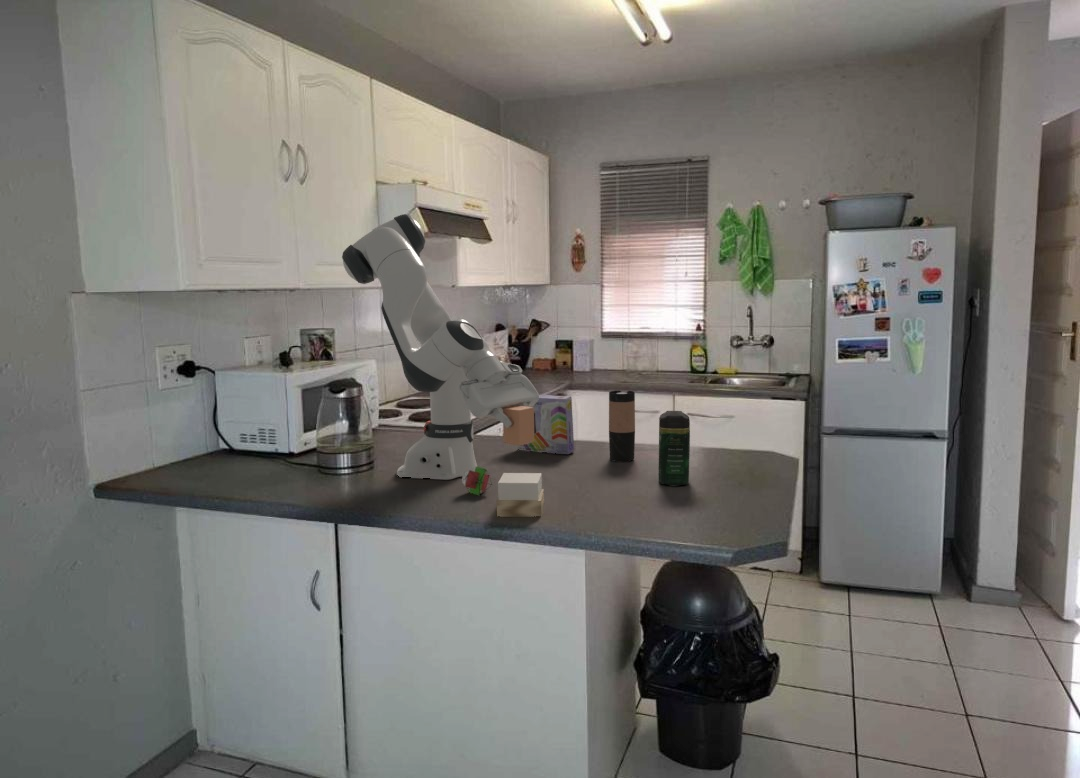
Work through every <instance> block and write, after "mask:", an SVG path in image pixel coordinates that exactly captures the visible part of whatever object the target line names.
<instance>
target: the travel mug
mask: <svg viewBox="0 0 1080 778" xmlns="http://www.w3.org/2000/svg"><path fill="white" fill-rule="evenodd" d="M608 393H609V394H608V442H609V443H608V445H609V446H608V448H609V459H611V461H612V460H615V461H614V462H617V461H628V462H630V461H629V460H632V461H634V460H633V459H635V448H636V447H635V446H636V445H635V443H636V442H635V440H636V438H635V437H636V408H635V407H636V404H635V403H636V401H635V400H636V394H635V391H633V390H628V391H626V392H624V391H622V390H610V391H609V392H608Z"/></svg>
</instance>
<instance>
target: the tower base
mask: <svg viewBox="0 0 1080 778" xmlns="http://www.w3.org/2000/svg"><path fill="white" fill-rule="evenodd" d="M544 491H545V488H542V491H541V494H540V497H539V500H538V501H536V500H498V498H497V499H496V517H498V516H500V517H503V518H504V517H510V518H511V517H516V518H517V517H521V518H522V517H524V518H525V517H527V518H528V517H531V518H533V517H534V516H535V517H536V516H541V517H542V516H543V512H544V505H545V492H544Z"/></svg>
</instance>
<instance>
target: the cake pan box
mask: <svg viewBox="0 0 1080 778" xmlns="http://www.w3.org/2000/svg"><path fill="white" fill-rule="evenodd" d="M572 400H573V399H572V396H570V395H569V396H567V395H565V396H564V395H553V394H552V395H551V394H539V400H538V401H537V402H536V404H535V405H534V406H533V407H534V442H532V443H528V444H524V445H520V446H519V445H516V448H517V450H518V449H520V450H529V451H528V452H530V451H536V452H535V453H542V452H547V453H546V454H555V453H556V454H558V455H569V454H574V453H575V439H574V437H575V436H574V421H573V419H574V418H573V402H572Z"/></svg>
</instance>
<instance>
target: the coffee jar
mask: <svg viewBox="0 0 1080 778" xmlns="http://www.w3.org/2000/svg"><path fill="white" fill-rule="evenodd" d="M690 422H691V421H690V417H689V415H688V414H686V413H684V412H683V411H682V410H666V411H665V412H663V413H661V414H660V416H659V417H658V482H659V483H660V484H661V485H669V486H671V487H678V486H682V485H688V484H689V480H690V456H691V455H690V454H691V453H690V452H691V451H690V450H691V449H690V448H691V431H690V430H691V427H690V426H691V424H690Z"/></svg>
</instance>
